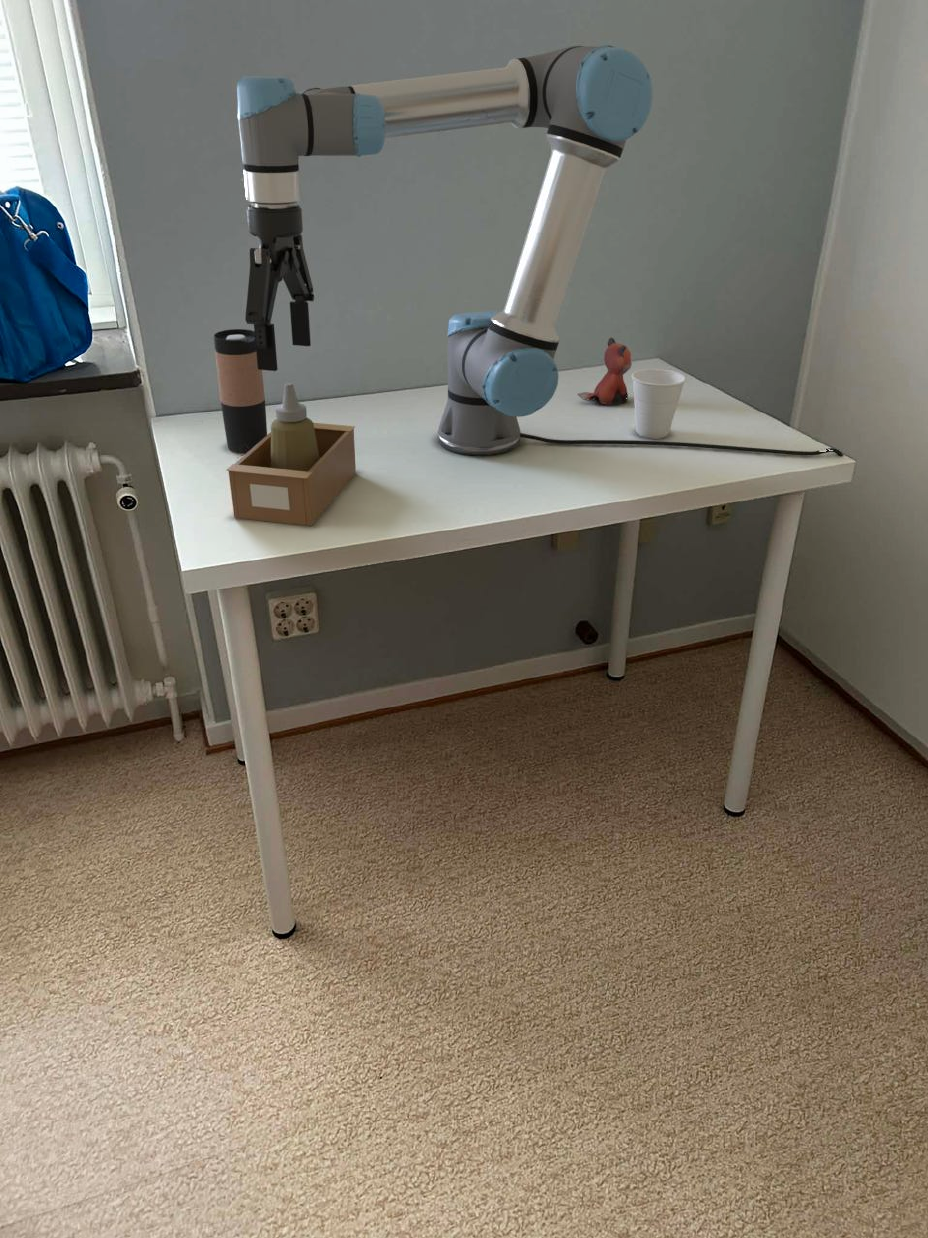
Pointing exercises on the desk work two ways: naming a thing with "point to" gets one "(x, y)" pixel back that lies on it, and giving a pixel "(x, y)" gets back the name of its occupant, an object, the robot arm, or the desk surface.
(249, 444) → the travel mug
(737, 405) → the desk surface
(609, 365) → the stuffed fox
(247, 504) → the wooden box
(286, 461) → the squeeze bottle
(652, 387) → the cup
